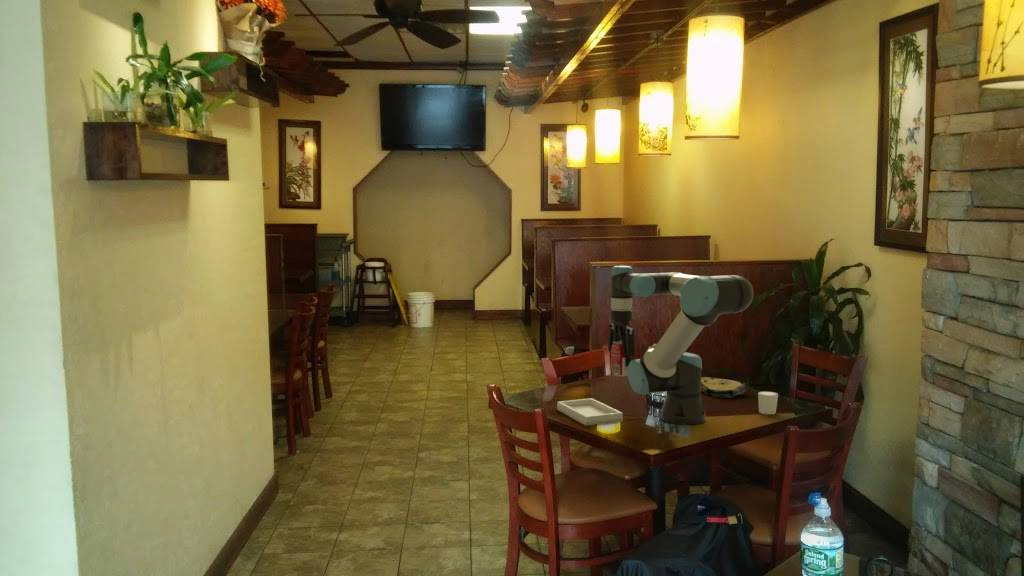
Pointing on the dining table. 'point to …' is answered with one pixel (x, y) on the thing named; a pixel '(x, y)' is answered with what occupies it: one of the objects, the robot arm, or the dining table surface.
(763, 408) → the white cup
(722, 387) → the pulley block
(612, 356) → the soda can
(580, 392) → the dining table surface
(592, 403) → the bussing tray
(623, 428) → the dining table surface
